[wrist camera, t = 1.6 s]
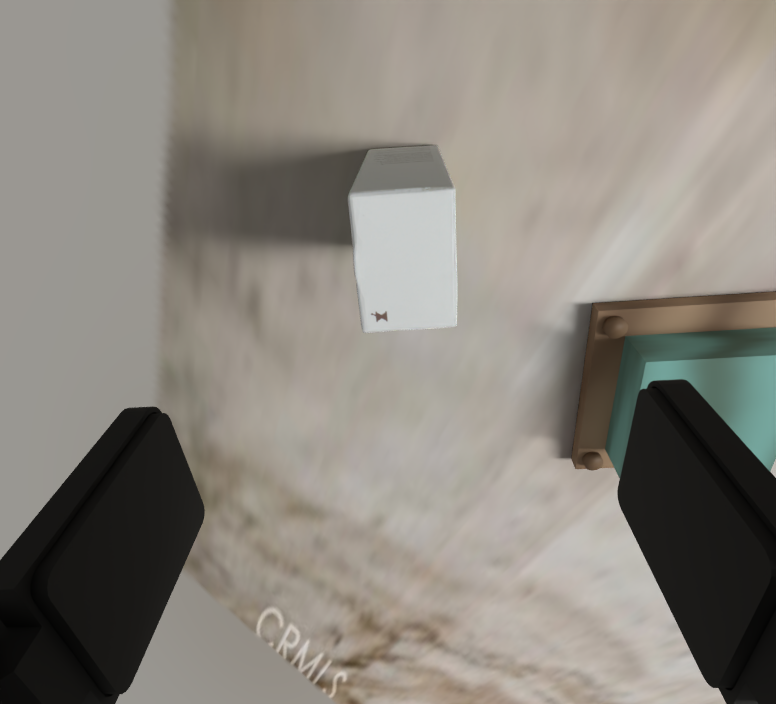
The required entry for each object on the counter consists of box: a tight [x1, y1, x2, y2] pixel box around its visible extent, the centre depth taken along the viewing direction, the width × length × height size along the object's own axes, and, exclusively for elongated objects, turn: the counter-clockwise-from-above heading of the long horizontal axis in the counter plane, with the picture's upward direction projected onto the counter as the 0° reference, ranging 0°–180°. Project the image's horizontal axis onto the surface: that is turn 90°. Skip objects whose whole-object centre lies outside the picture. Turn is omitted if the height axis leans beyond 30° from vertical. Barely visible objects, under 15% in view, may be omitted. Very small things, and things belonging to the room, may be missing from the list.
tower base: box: [571, 292, 776, 478], centre depth 34 cm, size 14×14×4 cm
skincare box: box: [348, 145, 457, 333], centre depth 24 cm, size 6×4×12 cm
